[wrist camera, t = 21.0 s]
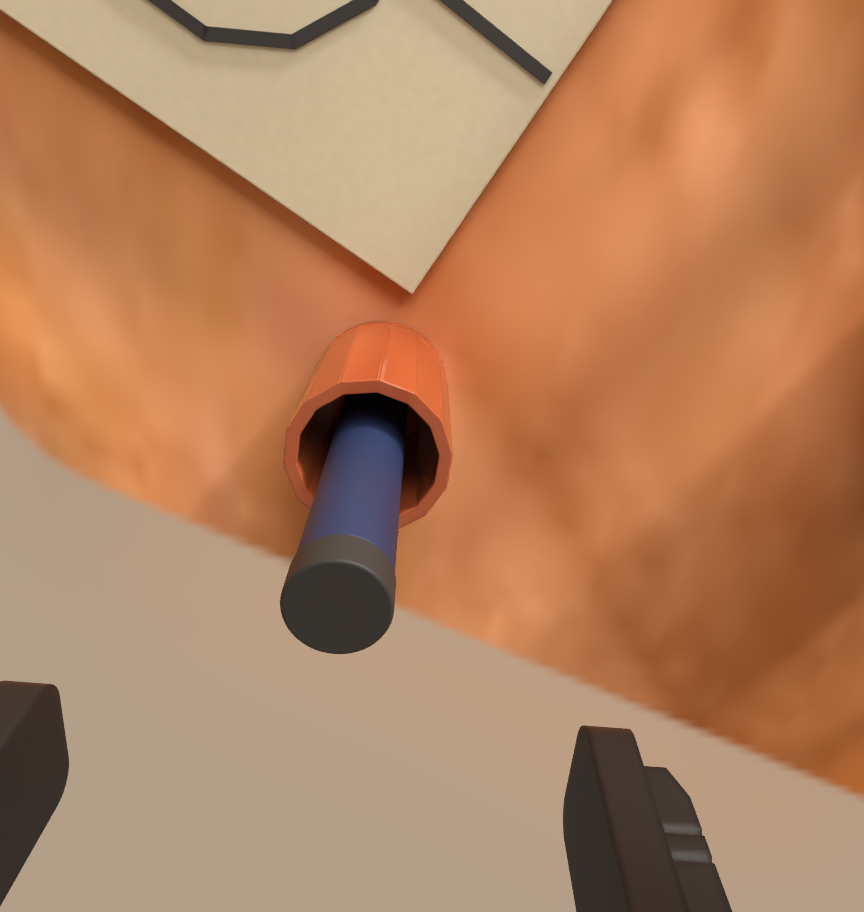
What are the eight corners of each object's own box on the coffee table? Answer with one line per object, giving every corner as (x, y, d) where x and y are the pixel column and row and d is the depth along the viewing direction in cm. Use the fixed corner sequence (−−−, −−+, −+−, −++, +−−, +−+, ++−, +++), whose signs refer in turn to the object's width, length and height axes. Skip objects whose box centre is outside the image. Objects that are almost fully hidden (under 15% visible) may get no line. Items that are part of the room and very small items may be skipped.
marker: (422, 384, 28) (415, 597, 15) (387, 433, 28) (354, 673, 16) (369, 350, 27) (317, 540, 15) (335, 400, 28) (258, 621, 15)
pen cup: (472, 367, 28) (485, 439, 22) (398, 467, 30) (390, 561, 23) (363, 293, 27) (342, 345, 20) (292, 400, 28) (252, 480, 22)
